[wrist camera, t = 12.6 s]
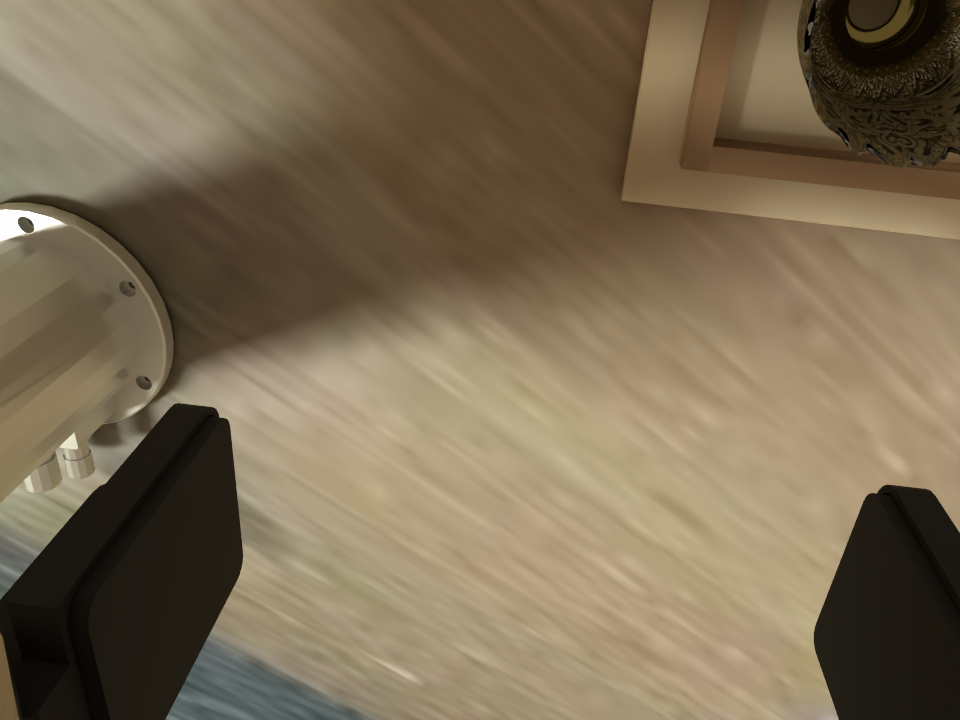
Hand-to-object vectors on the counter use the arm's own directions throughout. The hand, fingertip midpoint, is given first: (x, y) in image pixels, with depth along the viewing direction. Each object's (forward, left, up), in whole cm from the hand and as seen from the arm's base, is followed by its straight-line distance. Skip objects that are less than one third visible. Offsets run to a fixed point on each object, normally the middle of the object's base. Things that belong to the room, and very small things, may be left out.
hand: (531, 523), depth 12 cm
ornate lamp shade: (+6, -10, -24) cm, 26 cm away
